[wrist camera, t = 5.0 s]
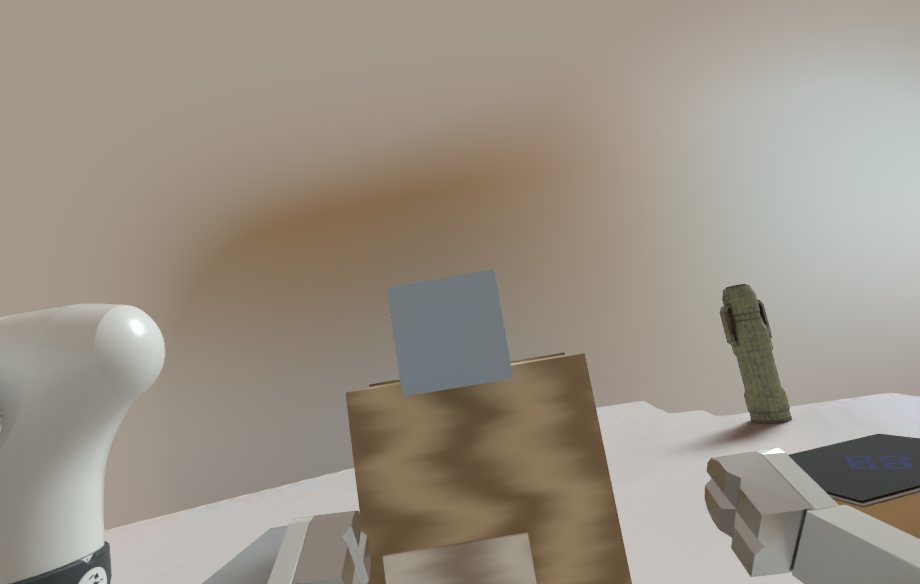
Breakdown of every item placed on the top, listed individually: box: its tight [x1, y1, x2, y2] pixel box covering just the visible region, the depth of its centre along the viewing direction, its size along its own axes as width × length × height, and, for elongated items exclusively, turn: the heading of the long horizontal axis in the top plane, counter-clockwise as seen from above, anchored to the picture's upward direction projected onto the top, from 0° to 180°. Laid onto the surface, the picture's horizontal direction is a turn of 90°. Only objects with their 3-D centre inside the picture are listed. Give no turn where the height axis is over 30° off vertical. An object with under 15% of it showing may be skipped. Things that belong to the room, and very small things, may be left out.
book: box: [788, 434, 920, 539], centre depth 56 cm, size 17×25×7 cm
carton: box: [346, 353, 632, 584], centre depth 30 cm, size 14×12×26 cm
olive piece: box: [720, 284, 792, 423], centre depth 116 cm, size 9×12×35 cm
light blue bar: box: [387, 270, 513, 397], centre depth 29 cm, size 4×26×4 cm, turn 177°
